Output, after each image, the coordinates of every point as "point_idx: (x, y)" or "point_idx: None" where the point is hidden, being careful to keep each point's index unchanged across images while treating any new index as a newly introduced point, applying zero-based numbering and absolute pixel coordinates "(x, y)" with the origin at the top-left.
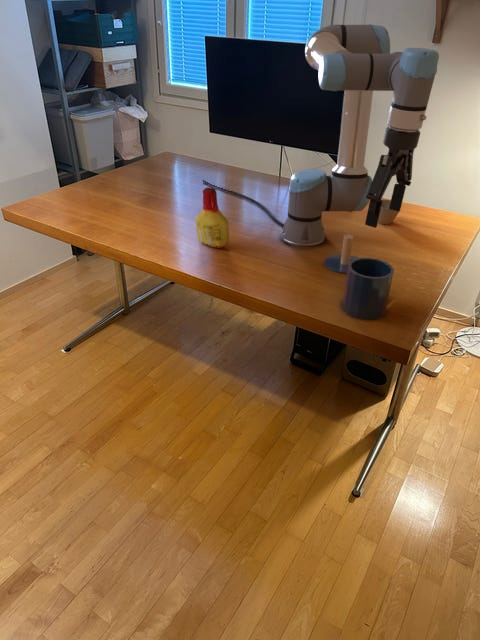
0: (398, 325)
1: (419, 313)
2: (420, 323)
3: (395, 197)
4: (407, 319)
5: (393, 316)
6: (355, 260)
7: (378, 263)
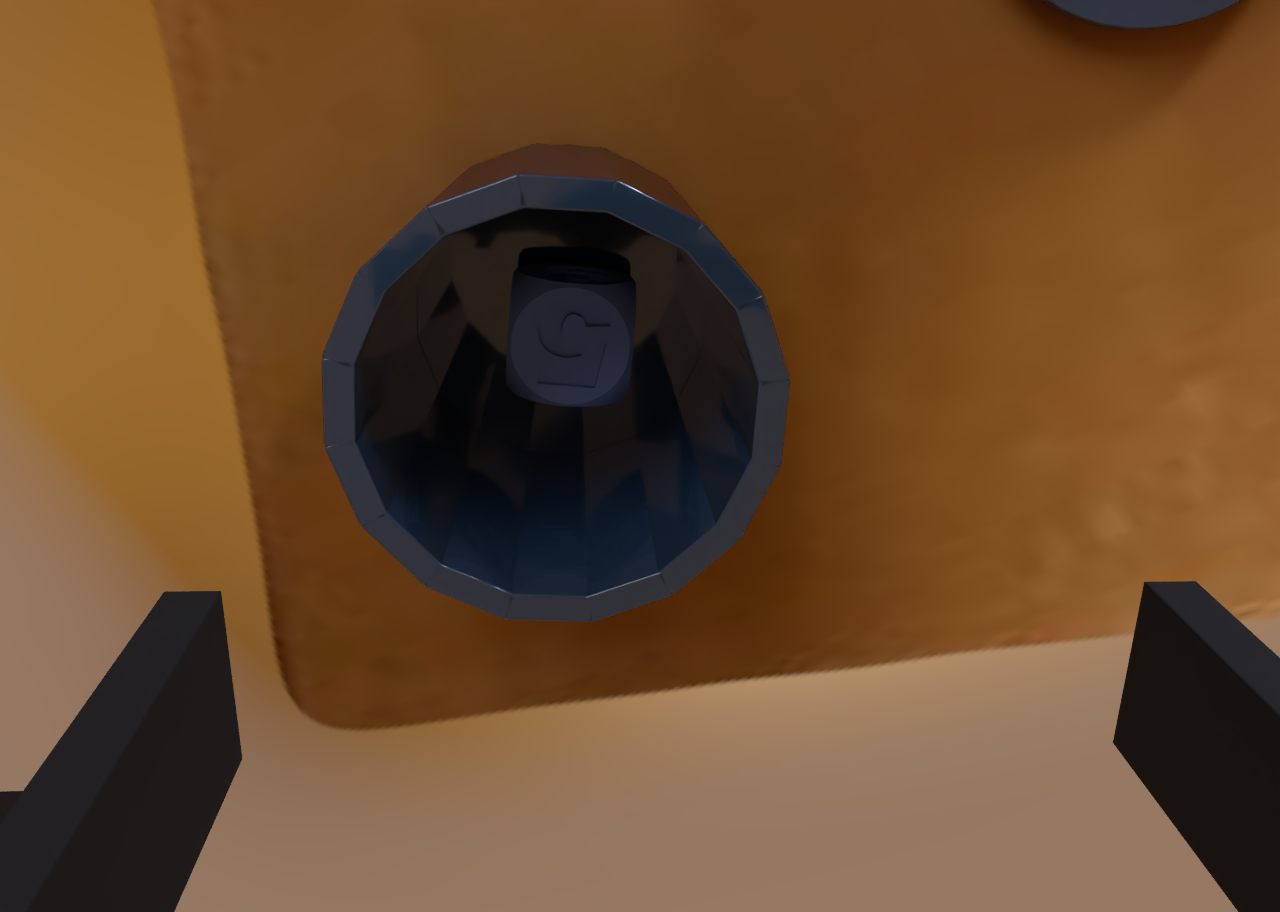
0: None
1: (749, 640)
2: (633, 688)
3: (1258, 786)
4: None
5: None
6: (604, 208)
7: (752, 401)
